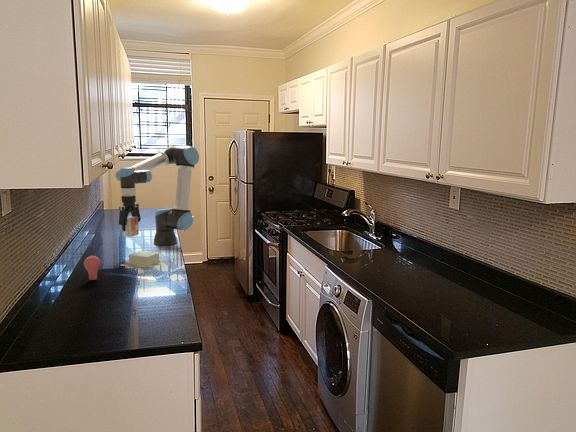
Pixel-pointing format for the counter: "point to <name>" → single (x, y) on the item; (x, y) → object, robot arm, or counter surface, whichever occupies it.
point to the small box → (132, 226)
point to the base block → (144, 258)
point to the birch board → (144, 266)
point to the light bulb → (92, 266)
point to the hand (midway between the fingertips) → (130, 234)
